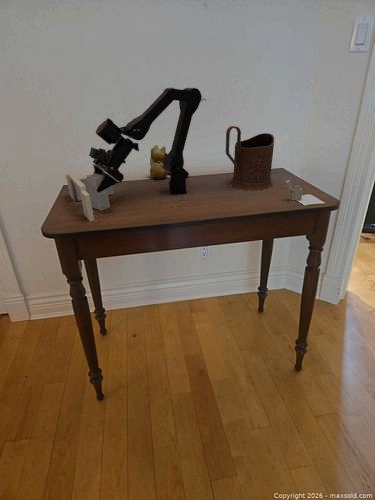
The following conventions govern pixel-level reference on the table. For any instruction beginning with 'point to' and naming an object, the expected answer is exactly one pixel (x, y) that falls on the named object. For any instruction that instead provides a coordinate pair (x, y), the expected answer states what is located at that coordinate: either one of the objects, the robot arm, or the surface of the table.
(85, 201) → the wall frame
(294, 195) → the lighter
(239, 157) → the brown pitcher
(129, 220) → the table surface
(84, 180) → the door
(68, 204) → the table surface
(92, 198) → the skincare box
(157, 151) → the decorative figurine
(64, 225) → the table surface
